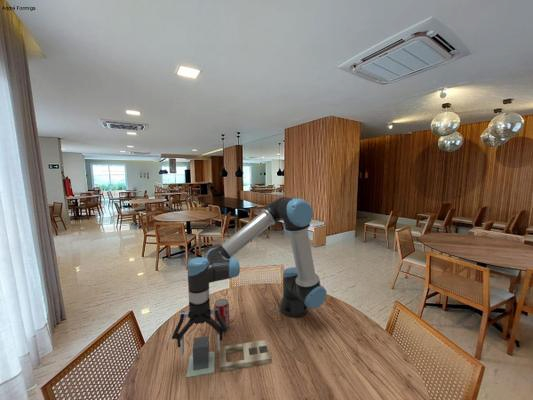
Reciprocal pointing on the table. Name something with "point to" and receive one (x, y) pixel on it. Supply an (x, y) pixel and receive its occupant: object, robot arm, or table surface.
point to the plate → (245, 355)
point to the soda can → (223, 310)
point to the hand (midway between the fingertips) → (201, 350)
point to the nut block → (201, 353)
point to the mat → (202, 371)
